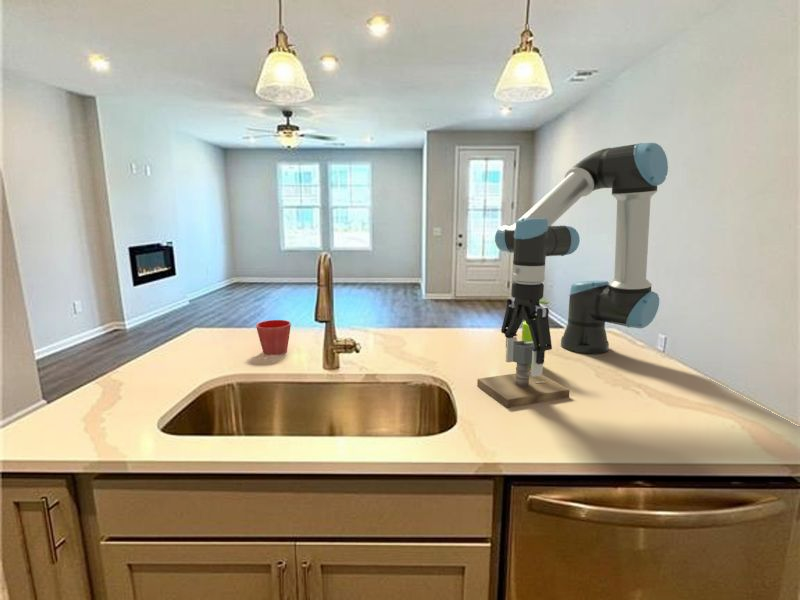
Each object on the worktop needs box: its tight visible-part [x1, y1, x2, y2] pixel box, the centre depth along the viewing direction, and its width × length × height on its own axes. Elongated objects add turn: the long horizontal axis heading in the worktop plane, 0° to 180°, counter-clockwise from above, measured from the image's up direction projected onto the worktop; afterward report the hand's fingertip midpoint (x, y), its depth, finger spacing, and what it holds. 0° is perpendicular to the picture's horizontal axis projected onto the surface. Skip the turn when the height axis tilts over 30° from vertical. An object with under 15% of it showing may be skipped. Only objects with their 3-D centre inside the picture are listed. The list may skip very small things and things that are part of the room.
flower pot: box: [256, 319, 292, 356], centre depth 141 cm, size 11×11×10 cm
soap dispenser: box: [521, 299, 549, 369], centre depth 127 cm, size 6×7×20 cm
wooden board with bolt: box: [476, 363, 571, 408], centre depth 108 cm, size 18×14×8 cm
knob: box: [512, 340, 535, 364], centre depth 107 cm, size 6×5×5 cm
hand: (523, 368), depth 108 cm, fingers open, 10 cm apart
